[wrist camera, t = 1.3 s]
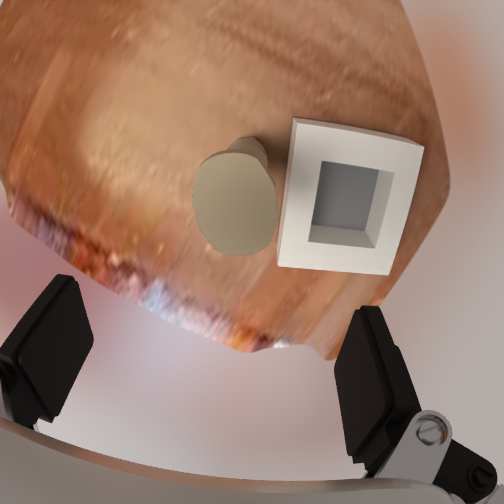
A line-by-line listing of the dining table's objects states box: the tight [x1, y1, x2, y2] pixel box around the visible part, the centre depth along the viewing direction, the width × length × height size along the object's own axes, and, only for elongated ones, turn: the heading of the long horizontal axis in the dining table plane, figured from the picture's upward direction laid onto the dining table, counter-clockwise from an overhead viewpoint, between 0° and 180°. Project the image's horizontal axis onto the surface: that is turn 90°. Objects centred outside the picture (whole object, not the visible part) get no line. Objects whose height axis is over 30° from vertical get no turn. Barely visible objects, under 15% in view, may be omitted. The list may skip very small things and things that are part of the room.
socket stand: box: [277, 117, 424, 275], centre depth 31 cm, size 14×12×5 cm
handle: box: [192, 137, 278, 256], centre depth 25 cm, size 5×6×15 cm
